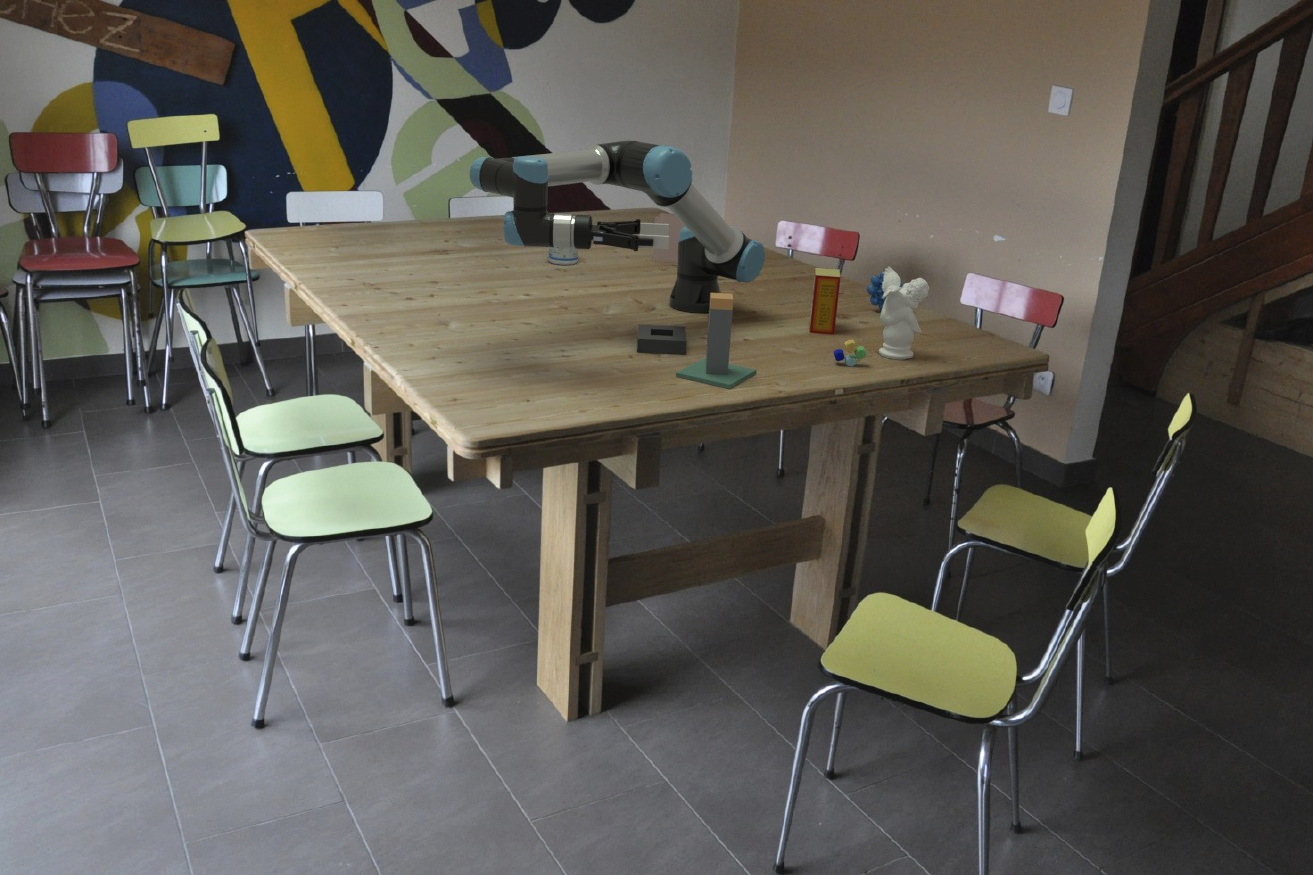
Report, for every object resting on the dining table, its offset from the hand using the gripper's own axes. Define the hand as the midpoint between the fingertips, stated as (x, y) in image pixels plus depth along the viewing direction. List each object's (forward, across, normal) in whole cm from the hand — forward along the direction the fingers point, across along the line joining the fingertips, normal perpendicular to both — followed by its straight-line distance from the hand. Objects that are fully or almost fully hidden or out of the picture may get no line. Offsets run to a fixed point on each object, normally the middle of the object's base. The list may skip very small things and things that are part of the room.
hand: (668, 236), depth 249 cm
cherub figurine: (+58, -22, -32) cm, 70 cm away
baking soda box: (+43, -45, -32) cm, 70 cm away
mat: (+13, 0, -32) cm, 34 cm away
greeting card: (+2, -118, -32) cm, 123 cm away
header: (0, -21, -32) cm, 38 cm away
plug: (+13, 0, -31) cm, 34 cm away
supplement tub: (-33, -109, -32) cm, 119 cm away
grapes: (+64, -65, -32) cm, 97 cm away
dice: (+46, -13, -32) cm, 58 cm away
